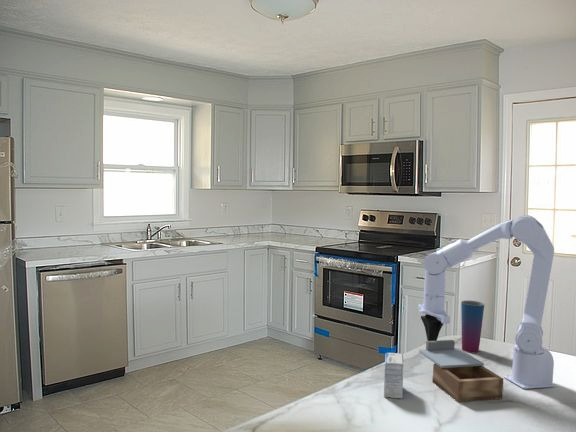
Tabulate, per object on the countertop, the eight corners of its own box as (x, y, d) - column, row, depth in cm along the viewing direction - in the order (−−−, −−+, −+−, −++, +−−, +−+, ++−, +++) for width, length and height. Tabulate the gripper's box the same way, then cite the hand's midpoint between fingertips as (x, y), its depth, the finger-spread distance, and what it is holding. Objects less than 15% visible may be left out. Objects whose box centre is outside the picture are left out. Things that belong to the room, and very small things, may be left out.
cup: (460, 352, 155) (463, 304, 154) (457, 345, 162) (459, 299, 161) (483, 354, 154) (486, 306, 153) (479, 347, 160) (481, 301, 159)
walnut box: (473, 379, 133) (474, 361, 133) (502, 398, 122) (503, 378, 121) (432, 382, 131) (433, 363, 130) (457, 402, 119) (458, 381, 119)
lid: (458, 350, 141) (458, 339, 141) (483, 365, 129) (484, 354, 129) (419, 352, 138) (419, 341, 138) (441, 368, 127) (442, 356, 126)
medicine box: (402, 399, 120) (403, 364, 119) (383, 397, 121) (384, 362, 120) (401, 386, 127) (403, 353, 127) (383, 384, 128) (385, 351, 128)
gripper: (409, 289, 149) (407, 334, 150) (434, 301, 135) (431, 350, 136) (431, 289, 150) (429, 333, 151) (457, 300, 136) (455, 349, 137)
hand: (431, 341), depth 143 cm, fingers closed
